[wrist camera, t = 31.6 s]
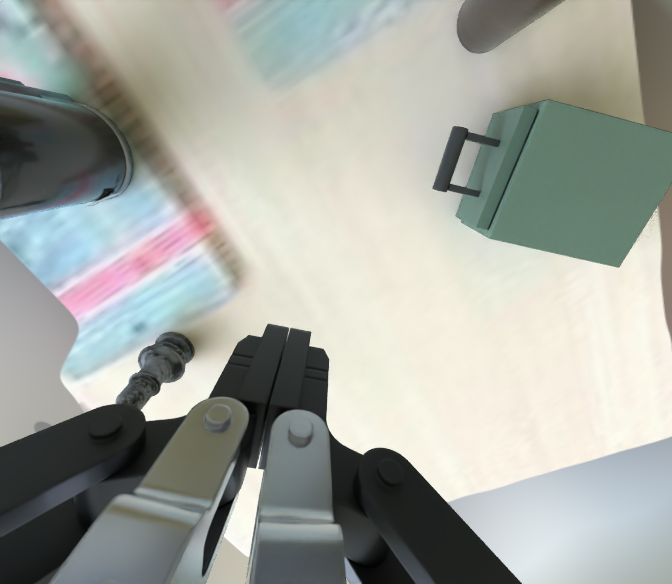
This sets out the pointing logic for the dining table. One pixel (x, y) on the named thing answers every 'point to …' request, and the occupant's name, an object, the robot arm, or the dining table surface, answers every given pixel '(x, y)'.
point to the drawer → (486, 164)
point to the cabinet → (583, 184)
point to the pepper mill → (497, 20)
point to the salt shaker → (157, 368)
